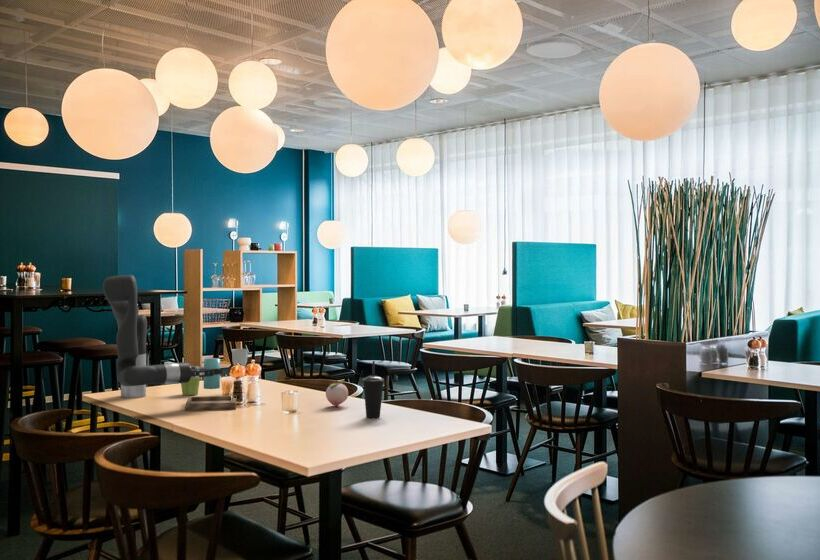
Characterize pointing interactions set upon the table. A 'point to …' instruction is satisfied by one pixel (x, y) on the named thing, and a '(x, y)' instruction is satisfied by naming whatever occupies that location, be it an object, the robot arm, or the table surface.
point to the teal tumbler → (214, 380)
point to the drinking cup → (373, 394)
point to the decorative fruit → (336, 393)
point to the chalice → (239, 356)
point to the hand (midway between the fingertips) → (217, 370)
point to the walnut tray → (210, 403)
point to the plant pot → (191, 386)
